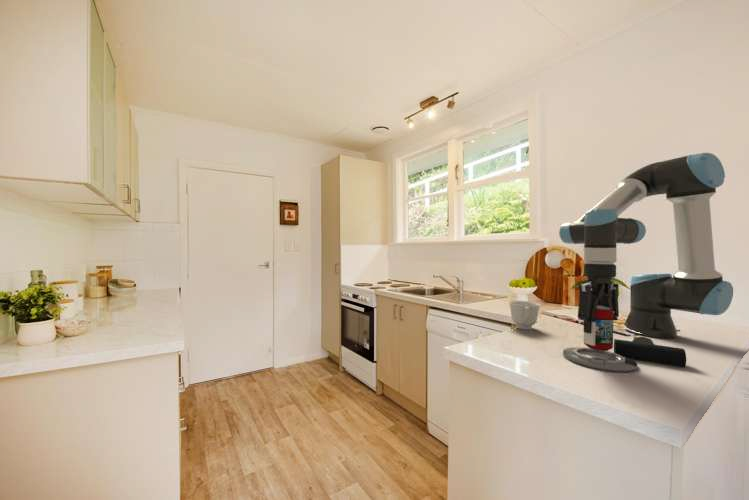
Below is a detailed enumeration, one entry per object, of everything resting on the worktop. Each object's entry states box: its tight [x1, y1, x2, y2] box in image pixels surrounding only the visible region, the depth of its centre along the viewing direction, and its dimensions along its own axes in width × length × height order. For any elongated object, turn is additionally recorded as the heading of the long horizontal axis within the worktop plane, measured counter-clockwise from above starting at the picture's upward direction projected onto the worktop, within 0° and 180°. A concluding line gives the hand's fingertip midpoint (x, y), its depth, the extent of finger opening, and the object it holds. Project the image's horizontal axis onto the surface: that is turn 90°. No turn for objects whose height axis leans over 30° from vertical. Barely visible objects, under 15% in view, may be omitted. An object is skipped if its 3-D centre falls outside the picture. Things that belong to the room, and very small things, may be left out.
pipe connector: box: [613, 336, 687, 368], centre depth 90 cm, size 12×5×15 cm
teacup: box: [507, 300, 542, 330], centre depth 121 cm, size 12×15×10 cm
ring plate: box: [562, 346, 638, 374], centre depth 87 cm, size 17×17×2 cm
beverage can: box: [583, 304, 614, 351], centre depth 87 cm, size 7×7×12 cm
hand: (598, 342), depth 87 cm, fingers closed on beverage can, 7 cm apart
